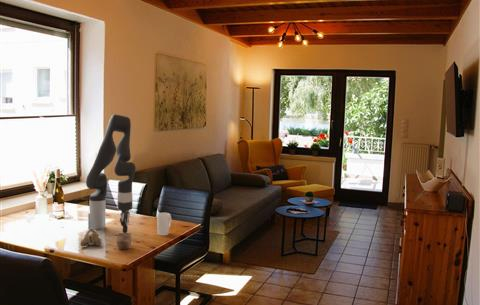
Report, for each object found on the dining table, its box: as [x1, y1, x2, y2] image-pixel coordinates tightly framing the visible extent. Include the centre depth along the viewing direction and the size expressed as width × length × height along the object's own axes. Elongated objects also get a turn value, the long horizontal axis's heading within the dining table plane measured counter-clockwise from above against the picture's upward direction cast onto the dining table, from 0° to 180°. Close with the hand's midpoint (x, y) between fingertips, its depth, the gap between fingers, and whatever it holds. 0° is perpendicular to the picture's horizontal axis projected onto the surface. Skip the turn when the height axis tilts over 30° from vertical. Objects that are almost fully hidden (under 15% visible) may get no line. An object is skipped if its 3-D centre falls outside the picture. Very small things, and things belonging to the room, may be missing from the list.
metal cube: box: [116, 232, 132, 250], centre depth 236 cm, size 6×6×6 cm
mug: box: [156, 212, 173, 236], centre depth 265 cm, size 10×7×12 cm, turn 143°
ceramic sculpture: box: [80, 228, 103, 247], centre depth 241 cm, size 11×9×15 cm
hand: (125, 232), depth 237 cm, fingers closed
